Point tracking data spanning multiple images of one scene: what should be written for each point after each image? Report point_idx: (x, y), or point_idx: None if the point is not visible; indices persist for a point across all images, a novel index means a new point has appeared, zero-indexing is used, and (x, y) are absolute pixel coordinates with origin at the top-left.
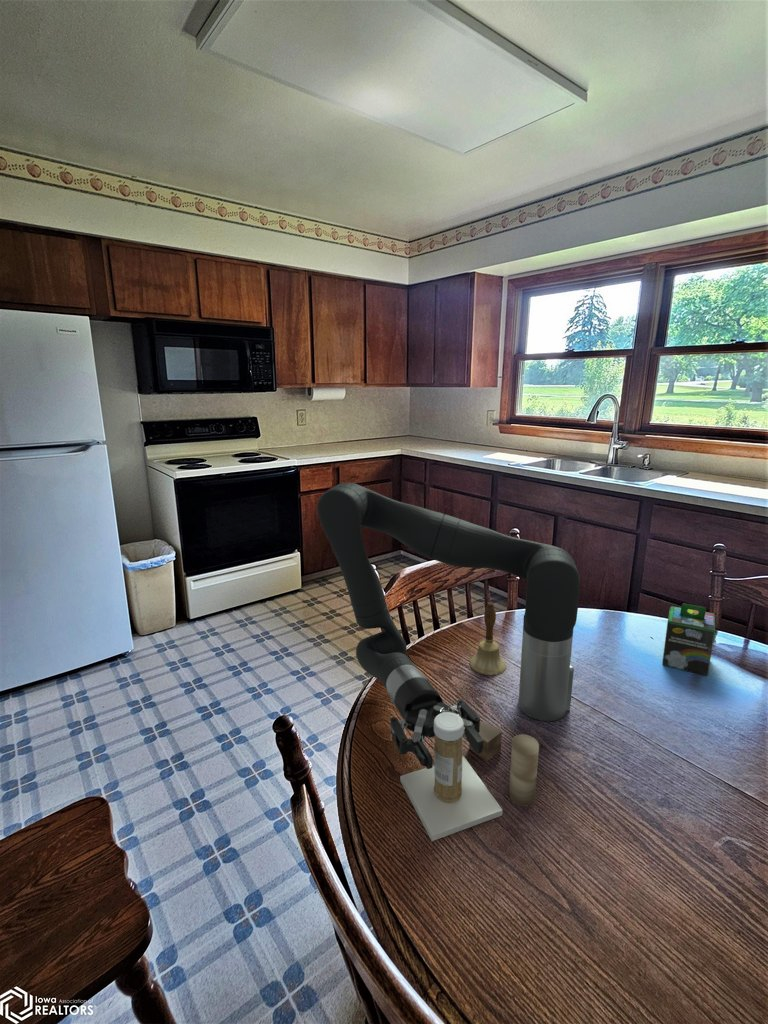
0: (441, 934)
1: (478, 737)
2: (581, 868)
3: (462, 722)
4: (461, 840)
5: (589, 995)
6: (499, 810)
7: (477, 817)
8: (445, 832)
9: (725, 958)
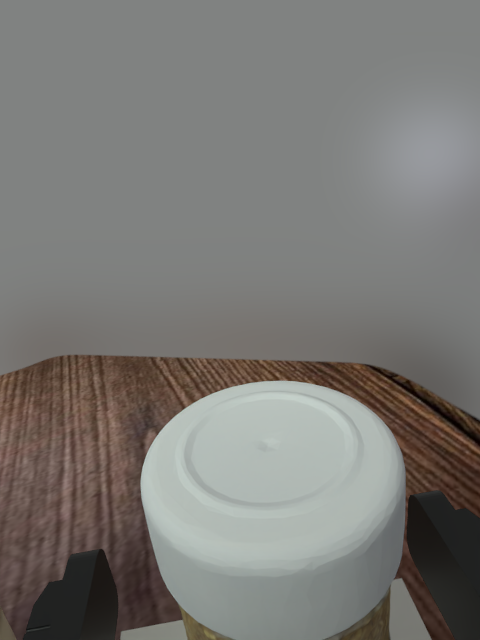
0: (386, 420)
1: (62, 586)
2: (66, 478)
3: (168, 423)
4: None
5: (203, 367)
6: (133, 631)
7: None
8: None
9: (21, 381)
